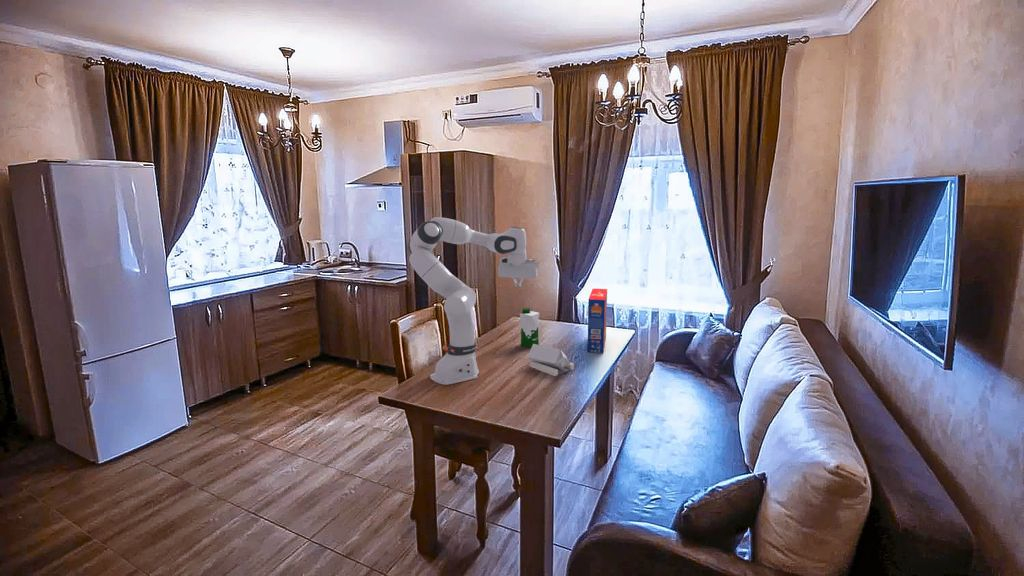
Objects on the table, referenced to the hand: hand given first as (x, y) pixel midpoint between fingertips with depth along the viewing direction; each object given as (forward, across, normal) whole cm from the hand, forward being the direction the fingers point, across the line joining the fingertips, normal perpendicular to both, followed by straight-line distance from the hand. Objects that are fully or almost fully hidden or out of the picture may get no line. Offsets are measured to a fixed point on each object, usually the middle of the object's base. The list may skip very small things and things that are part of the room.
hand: (518, 286), depth 244 cm
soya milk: (+34, -3, -10) cm, 36 cm away
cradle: (+34, -22, +20) cm, 45 cm away
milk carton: (+29, -12, +18) cm, 36 cm away
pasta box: (+34, -38, -20) cm, 55 cm away
